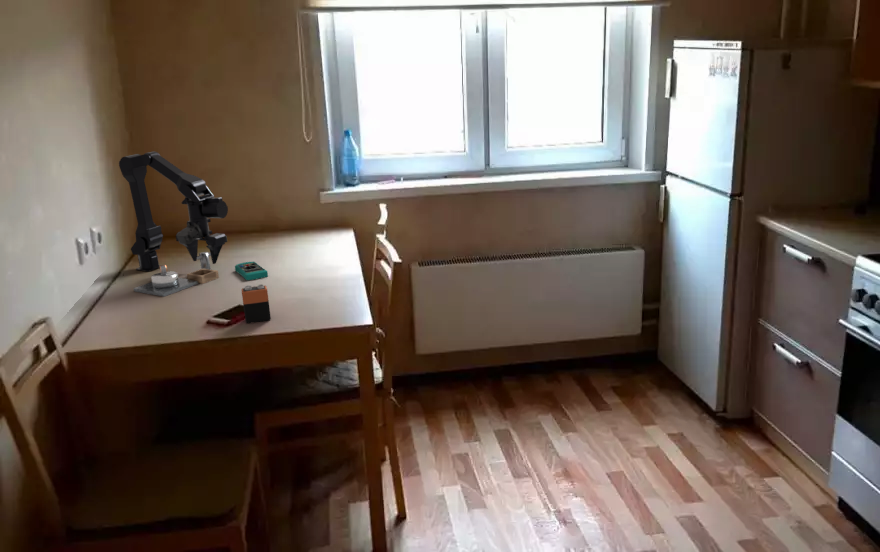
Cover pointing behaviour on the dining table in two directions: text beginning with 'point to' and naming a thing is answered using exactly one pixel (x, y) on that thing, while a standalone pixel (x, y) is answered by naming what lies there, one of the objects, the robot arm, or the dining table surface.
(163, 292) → the chuck base
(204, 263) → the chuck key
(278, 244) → the dining table surface
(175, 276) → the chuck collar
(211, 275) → the key socket
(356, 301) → the dining table surface
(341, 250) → the dining table surface
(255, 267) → the digital multimeter
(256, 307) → the battery
